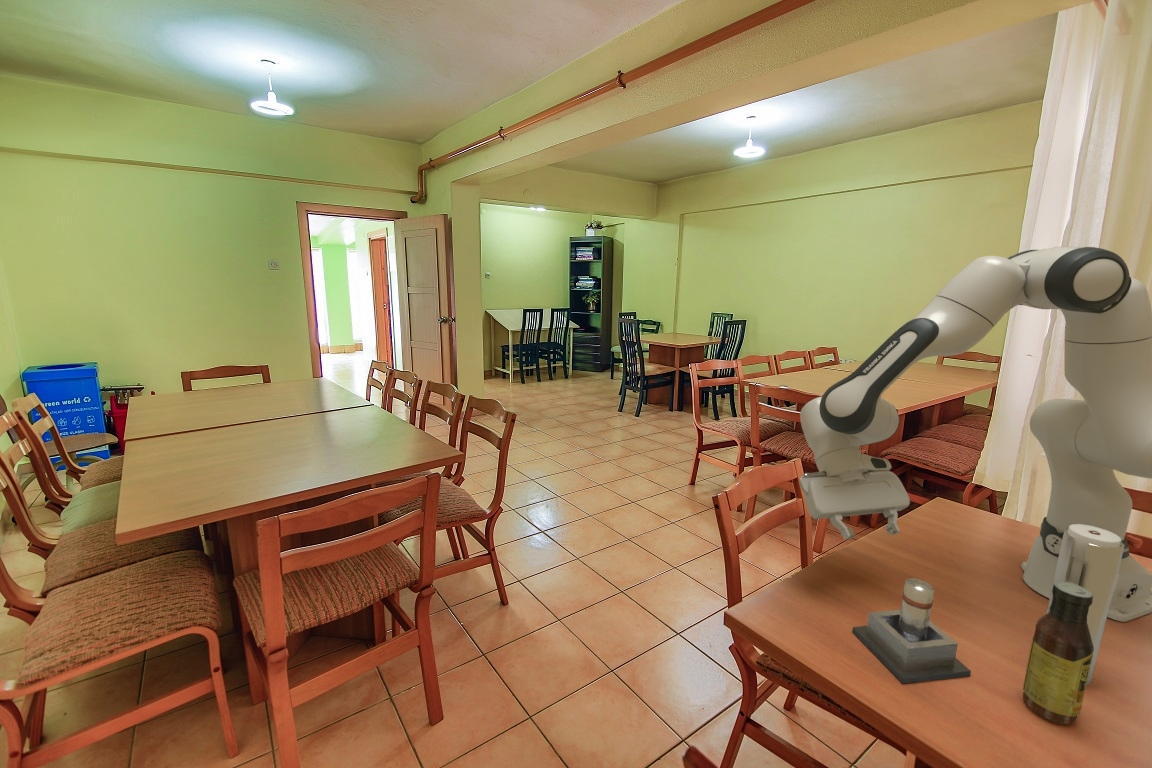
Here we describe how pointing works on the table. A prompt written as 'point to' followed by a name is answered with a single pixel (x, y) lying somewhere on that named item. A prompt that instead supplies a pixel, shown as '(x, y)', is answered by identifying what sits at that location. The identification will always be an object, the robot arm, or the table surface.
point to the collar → (911, 650)
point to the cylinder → (915, 610)
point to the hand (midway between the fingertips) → (872, 536)
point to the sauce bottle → (1060, 656)
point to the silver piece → (1090, 573)
